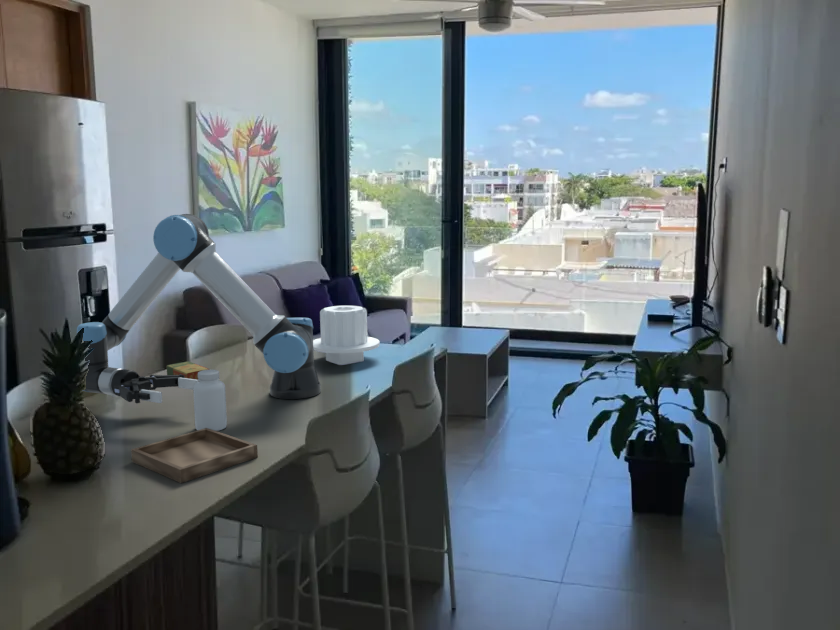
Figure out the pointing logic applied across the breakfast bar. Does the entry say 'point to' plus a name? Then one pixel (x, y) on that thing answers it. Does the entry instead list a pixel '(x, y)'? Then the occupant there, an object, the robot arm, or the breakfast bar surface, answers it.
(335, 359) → the flanged gear
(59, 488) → the breakfast bar surface
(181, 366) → the carton
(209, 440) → the tray
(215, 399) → the pill bottle
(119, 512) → the breakfast bar surface
